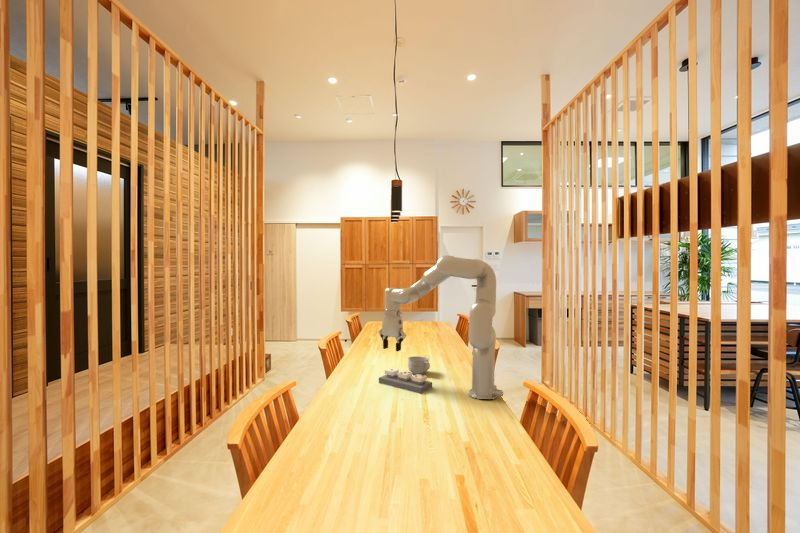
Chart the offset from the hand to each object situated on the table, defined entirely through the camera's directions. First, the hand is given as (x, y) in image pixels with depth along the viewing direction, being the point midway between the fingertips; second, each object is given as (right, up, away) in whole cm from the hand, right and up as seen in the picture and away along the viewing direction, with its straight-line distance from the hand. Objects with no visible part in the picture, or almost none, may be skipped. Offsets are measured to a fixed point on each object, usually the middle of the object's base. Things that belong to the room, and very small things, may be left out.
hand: (391, 349), depth 179 cm
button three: (+6, -14, -5) cm, 16 cm away
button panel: (+6, -16, -5) cm, 18 cm away
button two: (+13, -14, -9) cm, 21 cm away
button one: (0, -14, 0) cm, 14 cm away
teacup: (+14, -16, +13) cm, 25 cm away
